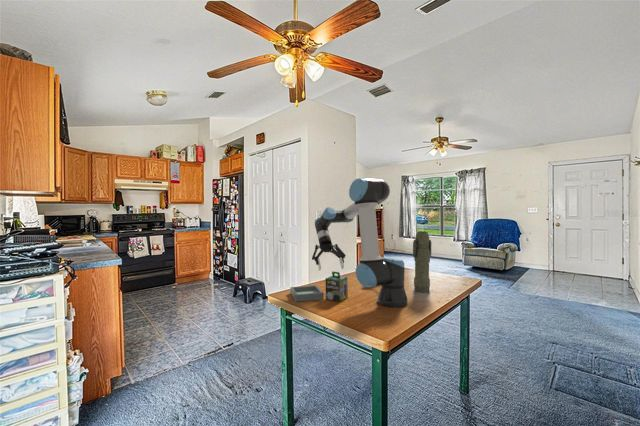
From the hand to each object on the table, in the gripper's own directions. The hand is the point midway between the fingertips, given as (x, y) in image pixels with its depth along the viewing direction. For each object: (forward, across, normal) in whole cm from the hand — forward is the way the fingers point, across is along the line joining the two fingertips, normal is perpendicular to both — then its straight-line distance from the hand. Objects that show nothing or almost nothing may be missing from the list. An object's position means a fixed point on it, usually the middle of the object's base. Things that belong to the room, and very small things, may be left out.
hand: (331, 268), depth 166 cm
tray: (+10, +15, -10) cm, 21 cm away
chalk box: (+16, 0, -5) cm, 17 cm away
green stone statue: (+15, -54, -6) cm, 57 cm away
